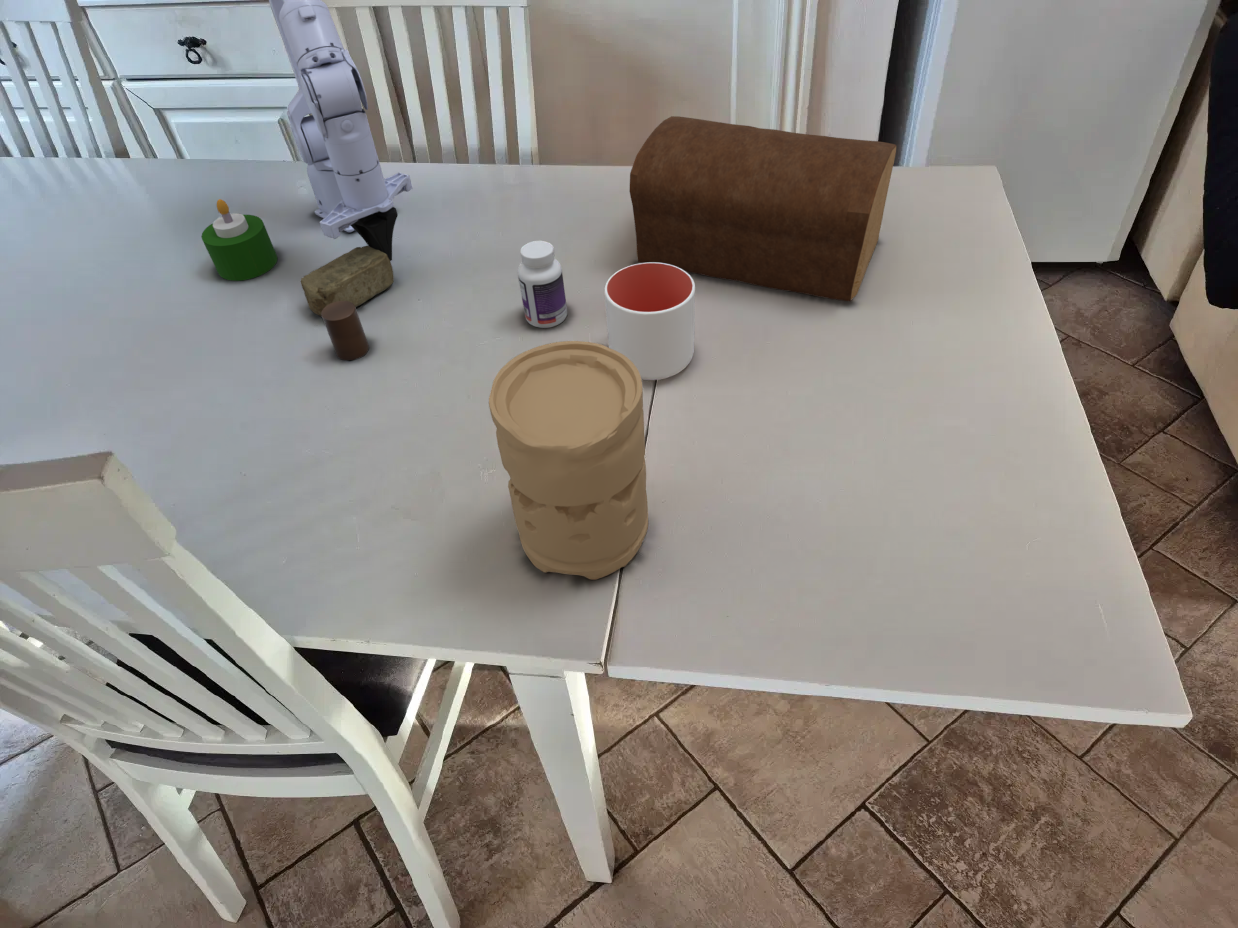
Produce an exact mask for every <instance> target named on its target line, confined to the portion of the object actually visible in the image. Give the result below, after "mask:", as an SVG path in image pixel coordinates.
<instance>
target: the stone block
mask: <svg viewBox="0 0 1238 928" xmlns="http://www.w3.org/2000/svg"><path fill="white" fill-rule="evenodd" d="M394 281H395V276H394V269H393V266H392V261H390V260H389V258H388V256H387V254H385V253H383V252H381V251H379V250H376V249H374V248H371V247H369V246H368V245H364V246H356V247H354V248H353V249H351V250H349V251H347V252H345V253H343V254H341V255H340V256H338V257H336V258H335V259H333V260H331V261H329V262H327V263H325V264H324V265H322V266H320V267H319V268H316V269H314V270H312V271H311V272H309V273H308V274H305V275H303V277H301V278H300V285H301V288H302V291H303V292H304V296H305V299H306V302H307V305H308V308H309V310H310V311H312V313H314V314H315V315H317V316H319V317H322V315H321V313H322V310H323V309H324V308H325V307H326V306H327V305H329V304H331V303H333V302H337V301H349V302H352V303H353V304H354V305H355V307H356V308H357V307H359V306H361V305H362V304H364V303H366V302H367V301H368V300H370V299H373V298H374V297H375V296H376V295H379V294H380V293H382V292H384V291H385V290H387V289H388V288H390V287H391V286H392V285H393V283H394Z"/></svg>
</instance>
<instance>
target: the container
mask: <svg viewBox="0 0 1238 928" xmlns="http://www.w3.org/2000/svg"><path fill="white" fill-rule="evenodd" d="M642 381H643V380H642V379H641V376H640V374H639V371H638V369H637V368H636V366H635V365H634V364H633V362H632V361H631V360H629V359H628V358H627V357H626V356H625V355H623V354H621V353H619V352H617V351H615V350H613V349H610V348H609V346H606V345H604V344H601V343H598V342H597V343H596V342H591V341H583V340H582V341H581V340H565V341H556V342H551V343H550V342H549V343H545V344H542V345H538V346H535V347H532V348H530V349H528V350H525V351H523V352H522V353H519V354H517V355H516V356H514V357H513V358H511V359H510V360H509V361H508V362H507V363H506V364H504V365H503V366H502V367H501V368H500V370H498V372H497V374H496V375H495V377H494V378H493V381H492V385H491V389H490V393H489V396H488V408H489V412H490V416H491V419H492V422H493V424H494V426H495V428H496V429H495V430H496V431H495V436H496V441H497V447H498V451H499V457H500V461H501V464H502V467H503V469H504V470H505V471H506V472H507V474H508V476H509V478H510V479H509V480H508V482H507V488H508V492H509V496H510V501H511V508H512V512H513V517H514V521H515V526H516V529H517V532H518V534H519V535H518V536H519V541H520V543H521V547H522V549H523V551H524V554H525V555H526V556H527V558H528V559H529V561H530V562H531V564H532V565H533V566H534V567H535V568H536V569H537V570H540V571H541V572H543V573H549V572H550V573H557V574H558V573H559V574H563V575H573V576H580V577H581V576H582V577H584V578H586V579H588V580H595V581H596V580H599V579H602V578H605V577H606V576H609V575H611V574H613V573H615V572H617V571H618V570H619V569H621V568H623V567H626V566H627V565H628V564H629V563H630V561H632V560H633V558H634V557H635V556H636V554H637V553H638V552H639V549H641V547H642V544H643V541H644V540H645V538H646V535H647V533H648V529H649V507H648V495H647V466H646V458H645V456H646V440H645V439H646V438H645V417H644V415H645V414H644V399H643V398H644V395H643V382H642Z"/></svg>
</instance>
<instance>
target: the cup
mask: <svg viewBox="0 0 1238 928" xmlns="http://www.w3.org/2000/svg"><path fill="white" fill-rule="evenodd" d="M603 290H604V303H605V315H606V316H605V317H606V330H607V341H608V342H607V343H608V348H610V349H613V350H615V351H617V352H619V353H621V354H623V355H625V356H626V357H627V358H628V359H629V360H631V361H632V362H633V364H634V365H635V366H636V368H637V369H638V371H639V374H640V376H641V381H658V380H659V381H660V380H665V379H668V378H671V377H673V376H675V375H677V374H679V373H680V372H682V371H683V370H684V369H685V368H686V367H688V365H689V364H690V363H691V361H692V360H693V356H694V352H695V326H696V325H695V323H696V321H695V320H696V319H695V318H696V317H695V316H696V283H695V280H694V279H693V277H692V275H690V274H689V272H687V271H684V270H682V269H681V268H678V267H676V266H673V265H670V264H665V263H656V262H648V263H641V262H638V263H635V264H631V265H628V266H625V267H623V268H621V269H619V270H617V271H615V273H613V274H612V275H611V276H609V278H608V279H607V281H606V282H605V284H604V289H603Z"/></svg>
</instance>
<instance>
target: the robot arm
mask: <svg viewBox="0 0 1238 928" xmlns="http://www.w3.org/2000/svg"><path fill="white" fill-rule="evenodd" d="M268 2H269V6H270V8H271V12H272V14H273V17H274V20H275V23H276V25H277V28H278V32H279V34H280V37H281V40H282V43H283V46H284V49H285V52H286V54H287V57H288V60H289V63H290V66H291V69H292V72H293V75H294V78H295V81H296V83H297V86H298V90H297V92H296V93H295V95H294V96H293V98H292V99H291V101H289V103H288V105H287V107H286V110H287V111H286V115H287V118H288V121H289V126H290V130H291V133H292V137H293V139H294V142H295V144H296V147H297V150H298V152H299V155H300V158H301V159H302V161H303V163H304V164H306V173H307V178H308V180H309V184H310V186H311V189H312V192H313V195H314V197H315V201H316V203H317V206H318V208H317V209H315V210H314V214H315V215H316V216H317V217H320V218H321V219H322V220H320V221H319V225H320V228H321V231H322V233H323V234H322V235H323V236H324V237H327V238H330V239H333V240H336V239H337V238H340V236H341V232H343V231H345V232H346V233H352V232H356V233H357V234H359V236H360V237H361V238H362V239H363V241H364V242H365V243H366V245H367V246H369V247H371V248H374V249H376V250H379V251H381V252H383V253H385V254H387V256H388V258H389V260H390V262H392V261H393V236H394V235H393V234H394V229H395V225H396V221H397V218H398V211H397V208H396V207H395V204H394V201H393V200H394V199H395V198H396V197H397V196H398V195H400V194H401V193H403V192H409V191H411V190H413V184H412V180H411V177H410V174H406V173H402V172H396V173H395V174H393V175H391V176H388V177H386V178H385V177H384V174H383V171H382V166H381V163H380V159H379V156H378V152H377V149H376V145H375V141H374V139H373V133H372V132H371V127H370V124H369V119H368V115H367V112H366V111H368V109H369V105H368V96H367V92H366V88H365V85H364V81H363V79H362V77H361V74H360V71H359V70H358V69H359V68H358V67H357V66H356V64H355V62H354V60H353V58H352V57H351V55H350V52H349V50H348V49H347V48H344V45H343V43H342V40H341V38H340V35H339V31H338V30H337V27H336V25H335V21H334V20H333V17H332V15H331V12H330V9H329V7H328V5H327V3H325V1H323V0H268Z"/></svg>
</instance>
